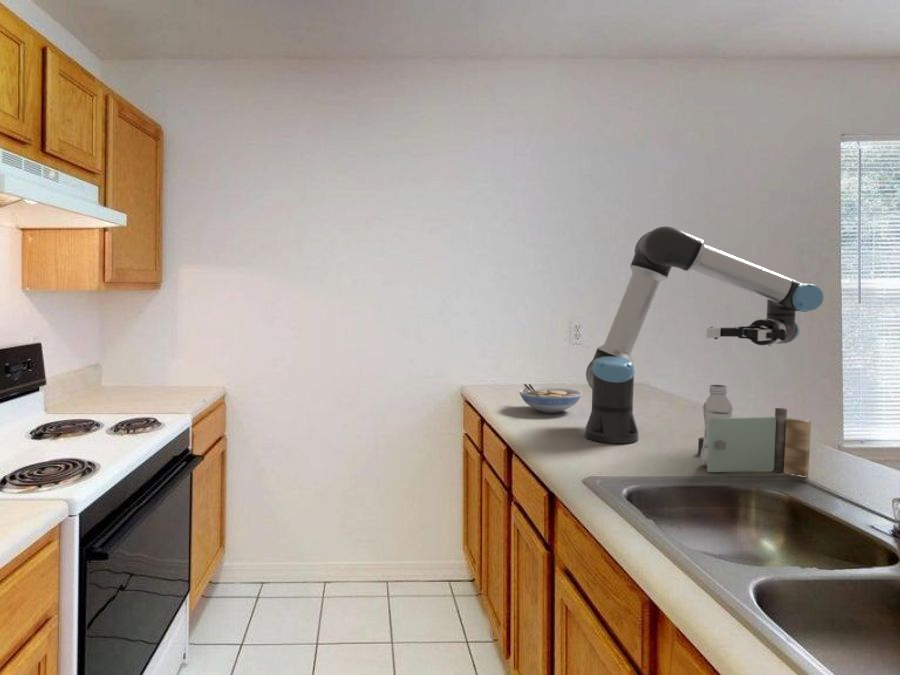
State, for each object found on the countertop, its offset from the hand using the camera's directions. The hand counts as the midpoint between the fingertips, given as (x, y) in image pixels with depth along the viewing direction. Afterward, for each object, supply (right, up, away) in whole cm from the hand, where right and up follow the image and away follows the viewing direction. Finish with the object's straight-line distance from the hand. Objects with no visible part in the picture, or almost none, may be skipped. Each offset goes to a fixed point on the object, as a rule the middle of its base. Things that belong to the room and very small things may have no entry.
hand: (732, 334), depth 153 cm
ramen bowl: (-39, -28, +55) cm, 73 cm away
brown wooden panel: (-1, -32, -11) cm, 34 cm away
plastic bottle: (-11, -33, -14) cm, 37 cm away
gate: (-7, -32, -19) cm, 38 cm away
